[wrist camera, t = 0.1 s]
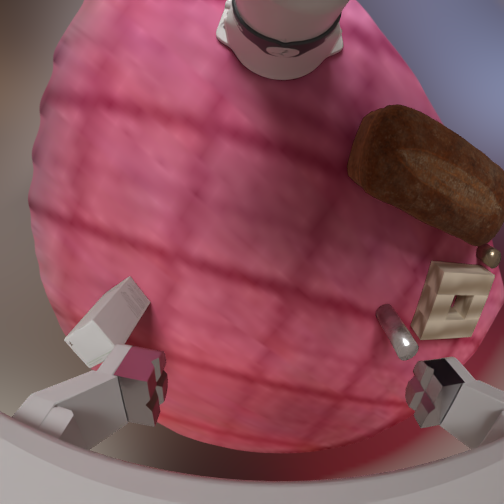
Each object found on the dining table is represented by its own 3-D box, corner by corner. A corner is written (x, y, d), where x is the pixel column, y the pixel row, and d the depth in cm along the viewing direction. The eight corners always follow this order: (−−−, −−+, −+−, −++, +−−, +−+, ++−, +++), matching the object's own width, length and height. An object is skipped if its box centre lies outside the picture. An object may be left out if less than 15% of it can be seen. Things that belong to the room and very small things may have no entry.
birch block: (431, 260, 49) (444, 272, 44) (481, 265, 49) (495, 275, 44) (410, 325, 54) (420, 339, 49) (460, 324, 54) (470, 336, 49)
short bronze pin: (478, 241, 47) (491, 249, 43) (490, 243, 47) (502, 251, 43) (474, 258, 48) (486, 267, 44) (485, 260, 48) (497, 268, 44)
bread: (360, 98, 40) (392, 87, 28) (485, 171, 42) (529, 183, 31) (332, 180, 45) (356, 195, 33) (461, 237, 47) (499, 263, 36)
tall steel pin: (378, 303, 52) (402, 342, 41) (395, 304, 52) (421, 342, 41) (373, 320, 53) (395, 360, 42) (390, 320, 53) (413, 359, 42)
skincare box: (122, 319, 55) (89, 370, 40) (101, 292, 53) (61, 339, 38) (152, 301, 53) (121, 355, 38) (130, 272, 51) (90, 320, 36)
